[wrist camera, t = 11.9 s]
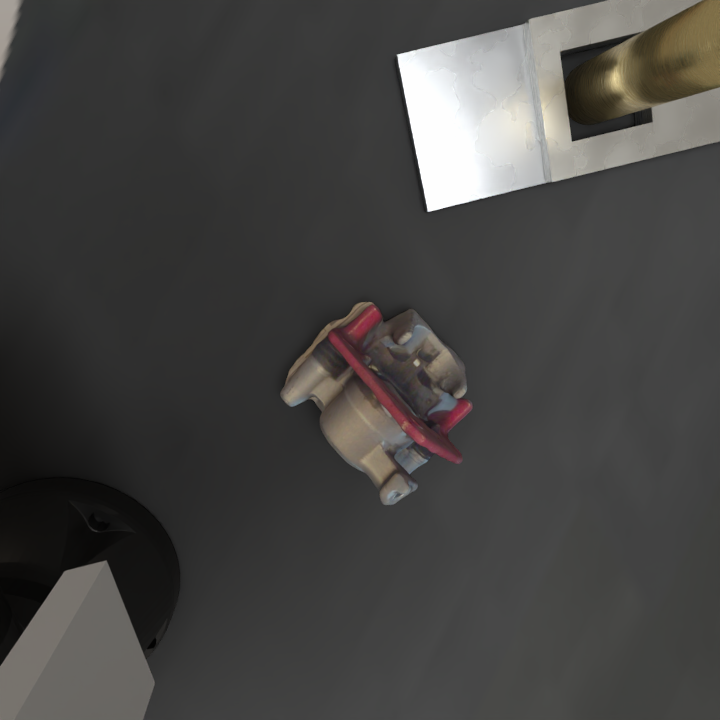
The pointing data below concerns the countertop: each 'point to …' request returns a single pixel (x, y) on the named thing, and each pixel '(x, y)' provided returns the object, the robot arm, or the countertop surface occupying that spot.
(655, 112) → the light grey flat block
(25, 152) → the countertop surface
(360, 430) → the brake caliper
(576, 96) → the pin
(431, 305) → the countertop surface
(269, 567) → the countertop surface
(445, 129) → the lower link
